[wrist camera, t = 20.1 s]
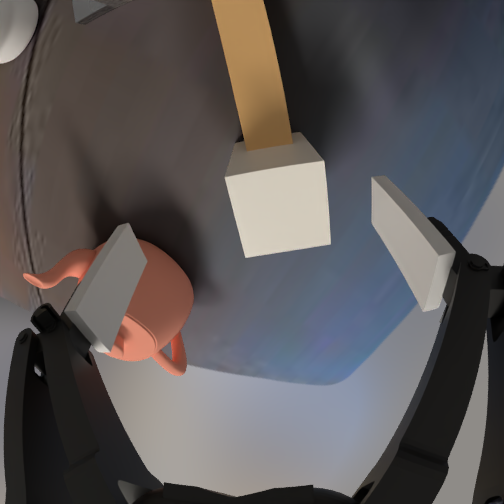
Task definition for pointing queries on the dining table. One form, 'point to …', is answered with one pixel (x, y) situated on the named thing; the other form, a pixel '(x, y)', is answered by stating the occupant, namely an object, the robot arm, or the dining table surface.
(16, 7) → the water bottle
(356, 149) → the dining table surface
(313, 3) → the dining table surface
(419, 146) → the dining table surface
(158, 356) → the teapot
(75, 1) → the white arch block
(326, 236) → the mallet
